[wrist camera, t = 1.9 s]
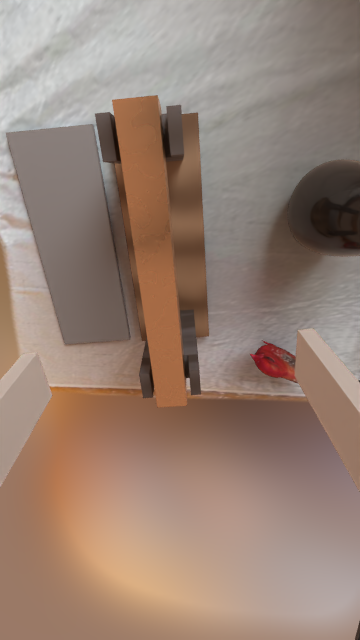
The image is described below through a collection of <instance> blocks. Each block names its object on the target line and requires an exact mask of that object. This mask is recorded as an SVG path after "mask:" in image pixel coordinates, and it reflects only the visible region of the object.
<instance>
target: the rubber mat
mask: <svg viewBox="0 0 360 640" xmlns="http://www.w3.org/2000/svg"><path fill="white" fill-rule="evenodd" d="M6 136H7V139H8V143H9V146H10V150H11V153H12V157H13V161H14V164H15V168H16V171H17V175H18V178H19V182H20V186H21V189H22V193H23V196H24V200H25V203H26V207H27V211H28V214H29V218H30V221H31V225H32V228H33V232H34V236H35V239H36V243H37V246H38V250H39V253H40V257H41V261H42V264H43V268H44V271H45V275H46V279H47V282H48V286H49V289H50V293H51V296H52V300H53V304H54V307H55V311H56V314H57V318H58V321H59V325H60V329H61V332H62V336H63V339H64V343H65V344H77V343H91V342H105V341H119V340H130V332H129V326H128V320H127V315H126V309H125V303H124V297H123V292H122V286H121V280H120V274H119V269H118V263H117V257H116V251H115V246H114V240H113V234H112V228H111V223H110V217H109V211H108V205H107V200H106V194H105V188H104V182H103V176H102V171H101V165H100V159H99V153H98V148H97V142H96V136H95V130H94V125H92V124H90V125H79V126H69V127H59V128H49V129H39V130H29V131H19V132H9V133H6Z"/></svg>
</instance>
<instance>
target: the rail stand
mask: <svg viewBox="0 0 360 640" xmlns="http://www.w3.org/2000/svg"><path fill="white" fill-rule="evenodd" d="M166 107H167V114H162V123H163V134H164V145H165V156H166V167H167V178H168V189H169V199H170V210H171V221H172V232H173V243H174V254H175V264H176V275H177V286H178V297H179V308H180V319H181V330H182V340H183V351H184V362H185V373H186V378H190V387H191V395H198V394H201V389H200V374H199V362H198V352H197V341H196V337H204V336H209V325H208V305H207V285H206V265H205V245H204V225H203V205H202V185H201V165H200V145H199V125H198V113H190V114H181V105H176V106H166ZM95 117H96V123H97V129H98V134H99V140H100V146H101V152H102V158H103V162H109V163H114V164H115V170H116V176H117V183H118V189H119V196H120V202H121V208H122V215H123V221H124V228H125V234H126V241H127V247H128V253H129V260H130V266H131V273H132V279H133V285H134V292H135V298H136V305H137V311H138V317H139V324H140V330H141V337H142V341H146V343H145V348H144V353H143V358H142V363H141V368H140V373H139V376H140V382H141V388H142V394H143V398H152V397H153V392H154V381H153V374H152V367H151V360H150V353H149V347H148V340H147V333H146V326H145V319H144V313H143V306H142V299H141V292H140V286H139V279H138V272H137V265H136V258H135V252H134V245H133V238H132V231H131V224H130V218H129V211H128V204H127V197H126V191H125V184H124V177H123V170H122V163H121V157H120V150H119V143H118V136H117V129H116V123H115V117H114V116H113V115H112V114H111V113H109V112H107V113H97V114H95Z"/></svg>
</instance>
